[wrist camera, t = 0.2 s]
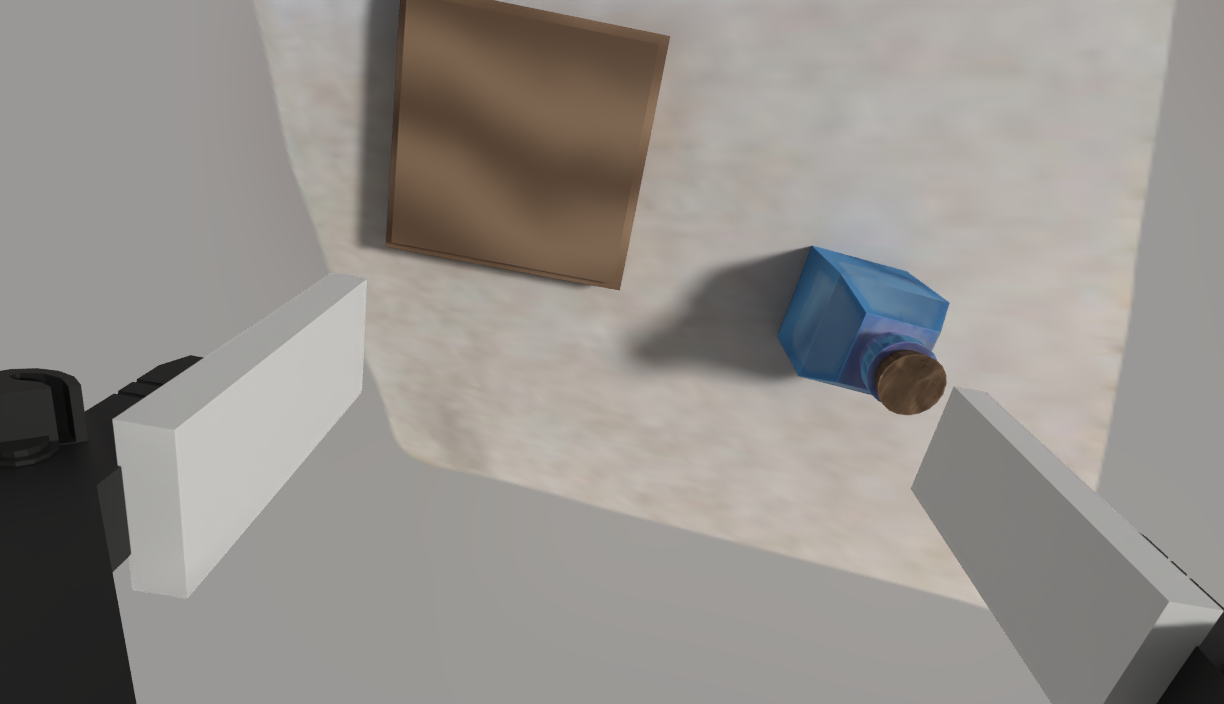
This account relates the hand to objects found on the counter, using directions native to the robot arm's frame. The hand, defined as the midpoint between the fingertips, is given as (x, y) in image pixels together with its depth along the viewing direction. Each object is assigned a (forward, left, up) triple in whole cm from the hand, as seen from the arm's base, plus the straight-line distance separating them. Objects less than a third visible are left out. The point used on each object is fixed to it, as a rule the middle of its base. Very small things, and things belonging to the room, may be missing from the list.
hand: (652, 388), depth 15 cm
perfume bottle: (+5, +14, -28) cm, 31 cm away
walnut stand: (-1, -7, -28) cm, 29 cm away
